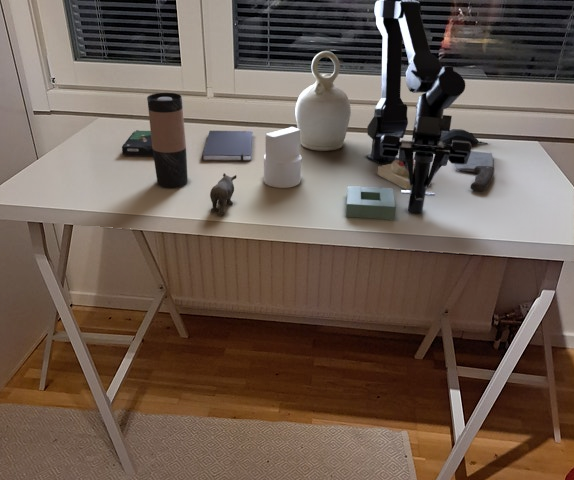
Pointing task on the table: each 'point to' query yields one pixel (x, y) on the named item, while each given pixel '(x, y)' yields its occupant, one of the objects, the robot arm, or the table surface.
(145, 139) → the disk drive
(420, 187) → the black flanged tube
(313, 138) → the white bell
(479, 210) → the table surface
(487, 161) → the cleaver
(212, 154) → the notebook
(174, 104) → the travel mug
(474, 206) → the table surface
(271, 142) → the cylinder with rectangular tab
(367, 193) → the green square frame
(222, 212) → the rhino figurine
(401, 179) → the panel
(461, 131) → the gaming mouse
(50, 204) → the table surface
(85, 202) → the table surface
